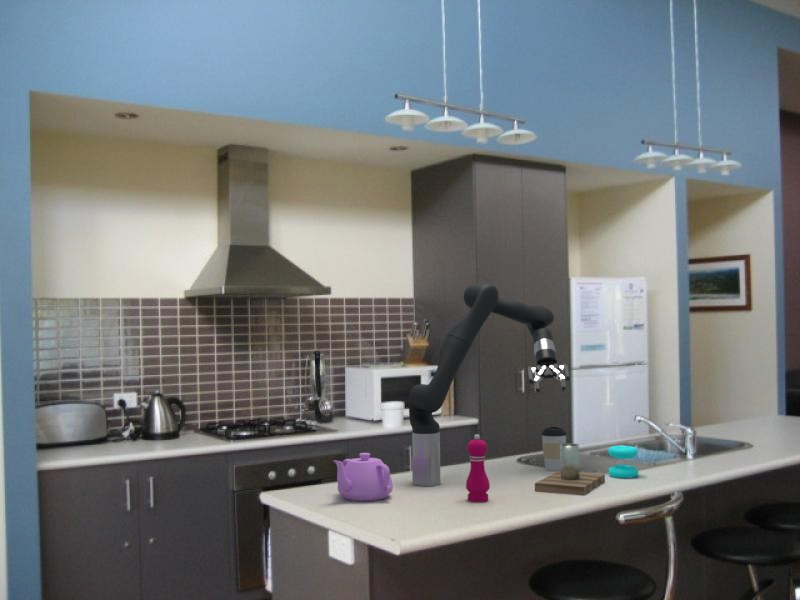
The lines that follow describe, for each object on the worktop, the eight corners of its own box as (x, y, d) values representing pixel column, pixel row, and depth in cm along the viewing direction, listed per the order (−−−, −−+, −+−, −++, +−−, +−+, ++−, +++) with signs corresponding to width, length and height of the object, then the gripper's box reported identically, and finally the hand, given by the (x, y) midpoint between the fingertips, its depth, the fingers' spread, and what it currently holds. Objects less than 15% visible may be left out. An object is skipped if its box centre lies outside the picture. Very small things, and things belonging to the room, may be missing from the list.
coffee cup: (567, 471, 308) (566, 429, 308) (541, 471, 309) (540, 429, 310) (567, 467, 317) (566, 426, 317) (542, 466, 318) (541, 426, 319)
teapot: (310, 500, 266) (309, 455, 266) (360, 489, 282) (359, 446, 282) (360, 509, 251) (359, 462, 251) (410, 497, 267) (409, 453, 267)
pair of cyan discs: (637, 445, 301) (638, 449, 291) (637, 474, 301) (639, 479, 291) (607, 444, 303) (608, 449, 294) (608, 473, 303) (608, 478, 293)
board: (584, 495, 266) (583, 487, 266) (534, 491, 274) (534, 483, 274) (604, 481, 287) (604, 474, 287) (558, 478, 295) (558, 471, 295)
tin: (575, 480, 276) (574, 446, 276) (558, 479, 280) (557, 445, 280) (582, 477, 282) (581, 443, 282) (564, 476, 285) (563, 442, 285)
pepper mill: (474, 496, 266) (473, 432, 267) (494, 499, 262) (493, 433, 262) (461, 500, 261) (460, 434, 261) (481, 503, 256) (480, 436, 257)
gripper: (525, 349, 309) (530, 385, 298) (565, 346, 308) (571, 382, 297) (525, 362, 314) (530, 398, 303) (564, 359, 313) (571, 395, 302)
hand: (551, 390), depth 300 cm, fingers open, 8 cm apart
